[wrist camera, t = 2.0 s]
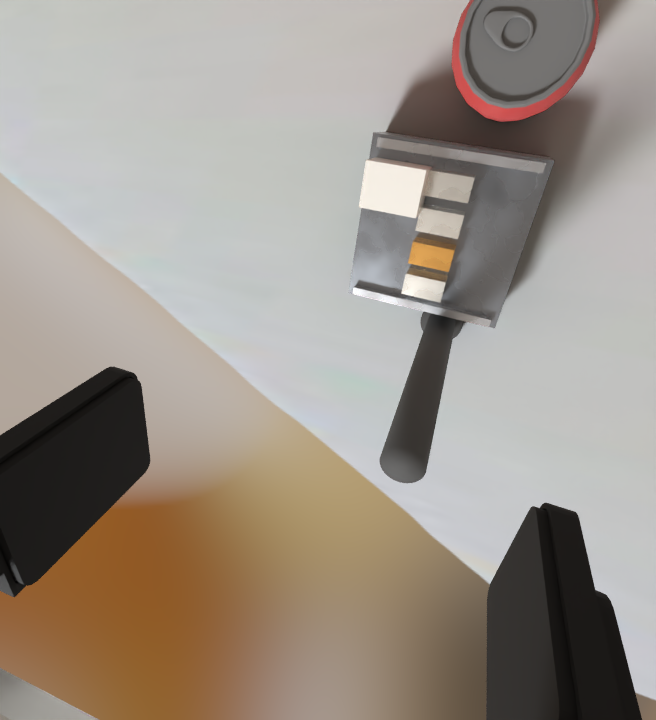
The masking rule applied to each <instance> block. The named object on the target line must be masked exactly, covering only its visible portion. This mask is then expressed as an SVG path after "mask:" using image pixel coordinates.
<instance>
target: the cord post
mask: <svg viewBox="0 0 656 720" xmlns="http://www.w3.org/2000/svg"><path fill="white" fill-rule="evenodd" d="M462 325H463V321H461V320H457V319H453V318H449V317H445V316H441V315H436V314H432V313H428V312H423V314H422V317H421V327H422V330H423V335H422V338H421V341H420V344H419V347H418V350H417V352H416V355H415V358H414V361H413V364H412V367H411V370H410V373H409V376H408V378H407V381H406V384H405V387H404V390H403V393H402V396H401V399H400V402H399V405H398V407H397V410H396V413H395V416H394V419H393V422H392V425H391V428H390V431H389V433H388V436H387V439H386V442H385V445H384V448H383V451H382V454H381V457H380V465H381V468H382V470H383V471H384V473H385V474H386V475H387V476H389V477H390V478H392V479H393V480H395V481H398V482H402V483H413V482H417V481H419V480H420V479H422V478H423V477H424V475H425V473H426V469H427V464H428V459H429V454H430V449H431V444H432V439H433V434H434V429H435V424H436V419H437V414H438V409H439V404H440V399H441V394H442V389H443V384H444V379H445V374H446V369H447V364H448V359H449V354H450V349H451V344H452V339H453V338H455V337H456V336H457V335H458V334H459V333H460V331H461V329H462Z"/></svg>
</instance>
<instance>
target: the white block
mask: <svg viewBox="0 0 656 720" xmlns="http://www.w3.org/2000/svg"><path fill="white" fill-rule="evenodd" d="M431 168H432V166H426V165H420V164H414V163H408V162H402V161H396V160H390V159H384V158H378V157H375V158H372V159H368V160H366V163H365V170H364V177H363V183H362V190H361V196H360V203H359V207H360V208H365V209H370V210H375V211H381V212H386V213H391V214H396V215H401V216H406V217H411V218H417V216H418V215H419V212H420V207H421V206H422V205H423V204H424V200H425V196H424V195H423V194H424V189H425V185H426V180H427V176H428V172H429V170H430V169H431Z"/></svg>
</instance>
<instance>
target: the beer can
mask: <svg viewBox="0 0 656 720" xmlns="http://www.w3.org/2000/svg"><path fill="white" fill-rule="evenodd" d="M599 22H600V19H599V11H598V2H597V0H470V1H469V3H468V5H467V6H466V8H465V10H464V11H463V13H462V14H461V17H460V20H459V23H458V27H457V30H456V33H455V36H454V39H453V50H452V68H453V73H454V77H455V81H456V86H457V88H458V89H459V91H460V93H461V94H462V96H463V97H464V99H465V101H466V102H467V104H468V105H470V106H471V107H472V108H474V109H475V110H476V111H478V112H479V113H480V114H481V115H483V116H484V117H485V118H488V119H492V120H495V121H499V122H506V121H517V120H522V119H525V118H528V117H530V116H533V115H535V114H538V113H540V112H543V111H545V110H546V109H548V108H549V107H550V106H552V105H553V104H554V103H556V102H557V101H558V100H560V99H561V98H562V97H564V96H565V95H566V94H567V93H568V91H569V90H570V89H571V88H572V87H573V85H574V84H575V83H576V82H577V80H578V79H579V78H580V77H581V75H582V74H583V72H584V70H585V68H586V66H587V64H588V62H589V60H590V57H591V55H592V53H593V51H594V49H595V44H596V39H597V33H598V28H599Z"/></svg>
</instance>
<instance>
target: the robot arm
mask: <svg viewBox="0 0 656 720" xmlns="http://www.w3.org/2000/svg"><path fill="white" fill-rule="evenodd" d="M149 464H150V453H149V445H148V437H147V428H146V421H145V412H144V403H143V395H142V387H141V383H140V382H139V381H138V379H137V376H136V375H135V374H134V373H132V372H129V371H126V370H123V369H120V368H116V367H109V368H106V369H105V370H103V371H101V372H100V373H98V374H97V375H95V376H94V377H92V378H90V379H89V380H87V381H86V382H84V383H82V384H81V385H79V386H78V387H76V388H74V389H73V390H71V391H70V392H68V393H67V394H65V395H63V396H62V397H60V398H59V399H57V400H55V401H54V402H52V403H51V404H49V405H48V406H46V407H44V408H43V409H41V410H40V411H38V412H37V413H35V414H33V415H32V416H30V417H29V418H27V419H25V420H24V421H22V422H21V423H19V424H18V425H16V426H14V427H13V428H11V429H10V430H8V431H6V432H5V433H3V434H2V435H0V591H2V592H4V593H6V594H8V595H10V596H12V597H15V596H16V595H17V594H18V593H19V592H20V591H21V590H22V589H23V588H24V587H25V586H26V585H27V586H28V585H32V584H33V583H35V582H36V581H38V579H40V578H41V577H42V576H43V575H44V574H45V573H46V572H47V571H48V570H49V569H50V568H51V567H52V566H53V565H54V564H55V563H56V562H57V561H58V560H59V559H60V558H61V557H62V556H63V555H64V554H65V553H66V552H67V551H68V550H69V548H71V547H72V546H73V545H74V544H75V543H76V542H77V541H78V540H79V539H80V538H81V537H82V536H83V535H84V534H85V532H87V530H89V528H91V527H92V526H93V525H94V524H95V522H97V521H98V519H100V517H102V516H103V515H104V514H105V513H106V512H107V511H108V510H109V509H110V508H111V506H113V505H114V503H116V501H117V500H118V499H119V498H120V497H121V496H122V495H123V494H124V493H125V492H126V491H127V490H128V489H129V488H130V487H131V486H132V485H133V484H134V483H135V482H136V481H137V480H138V479H139V478H140V477H141V476H142V475H143V474H144V473H145V472H146V470H147V469H148V467H149ZM487 598H488V599H487V720H642V718H641V714H640V710H639V706H638V702H637V698H636V695H635V691H634V687H633V683H632V679H631V675H630V671H629V667H628V663H627V659H626V655H625V651H624V648H623V644H622V640H621V636H620V632H619V628H618V624H617V620H616V616H615V612H614V609H613V606H612V604H611V601H610V599H609V598H608V597H607V595H606V594H603V593H601V592H599V591H596V590H595V587H594V583H593V578H592V574H591V570H590V565H589V561H588V556H587V552H586V548H585V543H584V539H583V534H582V530H581V526H580V521H579V517H578V515H577V513H576V512H574V511H571V510H568V509H564V508H561V507H558V506H555V505H552V504H549V503H544V504H542V506H541V507H540V508H537V507H534V506H533V507H531V508H530V510H529V512H528V514H527V515H526V517H525V519H524V521H523V523H522V525H521V527H520V529H519V531H518V532H517V534H516V536H515V538H514V540H513V542H512V544H511V546H510V548H509V549H508V551H507V553H506V555H505V557H504V559H503V561H502V563H501V565H500V566H499V568H498V570H497V572H496V574H495V576H494V578H493V580H492V582H491V584H490V587H489V591H488V597H487ZM0 720H98V719H96V718H94V717H93V716H91V715H89V714H87V713H85V712H83V711H81V710H79V709H77V708H76V707H74V706H72V705H70V704H68V703H66V702H64V701H62V700H60V699H58V698H57V697H55V696H53V695H51V694H49V693H47V692H45V691H43V690H41V689H39V688H38V687H36V686H33V685H32V684H30V683H28V682H26V681H24V680H22V679H20V678H18V677H16V676H14V675H13V674H11V673H9V672H7V671H5V670H3V669H1V668H0Z"/></svg>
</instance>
